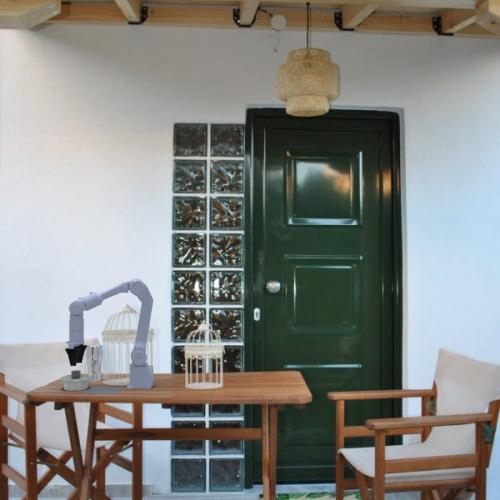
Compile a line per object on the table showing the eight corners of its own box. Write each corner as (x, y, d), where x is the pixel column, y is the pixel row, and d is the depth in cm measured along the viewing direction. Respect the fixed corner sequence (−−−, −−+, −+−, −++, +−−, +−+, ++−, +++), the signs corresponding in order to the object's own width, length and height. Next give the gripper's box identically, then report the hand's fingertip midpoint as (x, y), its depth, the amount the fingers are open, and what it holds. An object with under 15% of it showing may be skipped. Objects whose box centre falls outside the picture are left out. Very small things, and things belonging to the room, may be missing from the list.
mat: (123, 388, 262) (123, 387, 262) (115, 394, 249) (115, 393, 249) (92, 387, 263) (92, 386, 263) (82, 394, 250) (82, 393, 250)
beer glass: (98, 382, 274) (98, 346, 274) (83, 381, 275) (83, 346, 276) (105, 379, 281) (105, 344, 281) (90, 378, 282) (90, 344, 283)
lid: (94, 377, 265) (94, 368, 265) (86, 382, 253) (86, 373, 253) (65, 376, 266) (66, 368, 266) (56, 382, 254) (56, 373, 254)
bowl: (90, 387, 264) (90, 377, 264) (83, 391, 255) (83, 381, 255) (68, 387, 264) (68, 377, 264) (61, 391, 255) (61, 381, 255)
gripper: (72, 328, 267) (72, 361, 267) (60, 332, 253) (60, 367, 252) (89, 328, 267) (89, 361, 267) (78, 332, 252) (78, 367, 252)
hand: (76, 364), depth 259 cm, fingers open, 7 cm apart
